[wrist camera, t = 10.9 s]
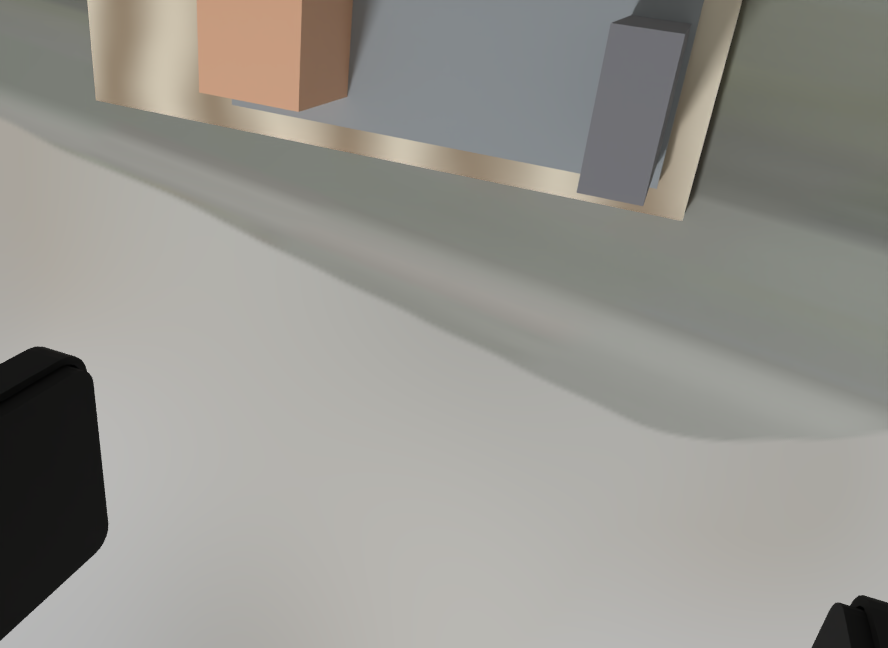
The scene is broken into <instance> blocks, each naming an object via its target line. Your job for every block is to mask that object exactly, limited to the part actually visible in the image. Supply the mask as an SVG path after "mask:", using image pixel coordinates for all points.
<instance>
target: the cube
mask: <svg viewBox="0 0 888 648" xmlns="http://www.w3.org/2000/svg"><path fill="white" fill-rule="evenodd" d="M352 7H353V0H197V33H198V70H199V93H204V94H209V95H214V96H220V97H225V98H230V99H235V100H240V101H245V102H250V103H255V104H261V105H266V106H271V107H276V108H281V109H286V110H291V111H296V112H300V111H303V110H306V109H310V108H313V107H316V106H319V105H322V104H326V103H329V102H332V101H335V100H339V99H342V98H345V97H347V93H348V75H349V58H350V41H351V24H352Z"/></svg>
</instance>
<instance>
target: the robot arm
mask: <svg viewBox="0 0 888 648" xmlns="http://www.w3.org/2000/svg"><path fill="white" fill-rule="evenodd" d="M107 531H108V517H107V507H106V498H105V488H104V480H103V470H102V460H101V450H100V441H99V432H98V422H97V412H96V403H95V394H94V384H93V379H92V377H91V375H90V374H89V373H88V372H87V370H86V366H85V364H84V363H83V361H82V360H81V359H79V358H77V357H75V356H72V355H68V354H65V353H61V352H58V351H55V350H52V349H48V348H45V347H33V348H30V349H28V350H26V351H24V352H22V353H20V354H18V355H16V356H15V357H13V358H11V359H9V360H7V361H5V362H3V363H1V364H0V640H2V639H3V638H4V637H5V636H6V635H7V634H8V633H9V632H10V631H11V630H12V629H14V627H16V626H17V625H18V624H19V623H20V622H21V621H22V620H23V619H24V618H25V617H27V616H28V615H29V614H30V613H31V612H32V611H33V610H34V609H35V608H36V607H37V606H39V604H41V603H42V602H43V601H44V600H45V599H46V598H47V597H48V596H49V595H51V594H52V593H53V592H54V591H55V590H56V589H57V588H58V587H59V586H60V585H61V584H63V582H65V581H66V580H67V579H68V578H69V577H70V576H71V575H72V574H73V573H74V572H76V571H77V570H78V569H79V568H80V567H81V566H82V565H83V564H84V563H85V562H86V561H88V559H90V558H91V557H92V556H93V555H94V554H95V553H96V552H97V551H98V550H99V549H100V547H101V546H102V544H103V542H104V540H105V538H106V536H107ZM812 648H888V603H887V602H884V601H880V600H877V599H874V598H870V597H867V596H864V595H862V596H858V597H857V598H855V599H854V600H853V602H852V604H851V605H850V606H848V605H845V604H842V603H835V604H834V605H833V606H832V608H831V609H830V611H829V613H828V615H827V617H826V619H825V621H824V623H823V625H822V627H821V629H820V631H819V633H818V636H817V638H816V640H815V642H814V644H813V646H812Z"/></svg>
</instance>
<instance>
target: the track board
mask: <svg viewBox="0 0 888 648" xmlns="http://www.w3.org/2000/svg"><path fill="white" fill-rule="evenodd" d="M87 2H88V13H89V25H90V36H91V48H92V60H93V71H94V83H95V94H96V100H97V101H102V102H107V103H112V104H117V105H121V106H126V107H131V108H136V109H141V110H146V111H151V112H155V113H160V114H165V115H170V116H175V117H180V118H185V119H189V120H194V121H199V122H204V123H209V124H214V125H219V126H223V127H228V128H233V129H238V130H243V131H248V132H253V133H257V134H262V135H267V136H272V137H277V138H282V139H287V140H291V141H296V142H301V143H306V144H311V145H316V146H321V147H325V148H330V149H335V150H340V151H345V152H350V153H355V154H359V155H364V156H369V157H374V158H379V159H384V160H389V161H393V162H398V163H403V164H408V165H413V166H418V167H423V168H427V169H432V170H437V171H442V172H447V173H452V174H457V175H461V176H466V177H471V178H476V179H481V180H486V181H491V182H495V183H500V184H505V185H510V186H515V187H520V188H525V189H529V190H534V191H539V192H544V193H549V194H554V195H559V196H563V197H568V198H573V199H578V200H583V201H588V202H593V203H597V204H602V205H607V206H612V207H617V208H622V209H626V210H631V211H636V212H641V213H646V214H651V215H656V216H660V217H665V218H670V219H675V220H680V221H683V217H684V213H685V210H686V206H687V202H688V199H689V195H690V191H691V187H692V184H693V180H694V176H695V173H696V169H697V165H698V162H699V158H700V154H701V151H702V147H703V143H704V140H705V136H706V132H707V129H708V125H709V121H710V118H711V114H712V110H713V107H714V103H715V99H716V95H717V92H718V88H719V84H720V81H721V77H722V73H723V70H724V66H725V62H726V59H727V55H728V51H729V48H730V44H731V40H732V37H733V33H734V29H735V26H736V22H737V18H738V15H739V11H740V7H741V3H742V0H704V3H703V7H702V11H701V15H700V19H699V23H698V27H697V31H696V35H695V39H694V43H693V47H692V51H691V55H690V59H689V63H688V67H687V71H686V75H685V79H684V83H683V87H682V91H681V95H680V98H679V102H678V106H677V110H676V114H675V118H674V122H673V126H672V130H671V134H670V138H669V142H668V146H667V150H666V154H665V158H664V162H663V166H662V170H661V174H660V178H659V182H658V186H657V189H655V188H650V187H649V190H648V193H647V196H646V199H645V202H644V205H643V206H639V205H634V204H629V203H624V202H619V201H614V200H609V199H605V198H600V197H595V196H590V195H585V194H580V193H577V188H578V183H579V178H580V174H579V173H574V172H569V171H564V170H559V169H554V168H549V167H544V166H539V165H533V164H528V163H523V162H518V161H513V160H508V159H503V158H498V157H493V156H488V155H483V154H478V153H473V152H468V151H463V150H458V149H453V148H447V147H442V146H437V145H432V144H427V143H422V142H417V141H412V140H407V139H402V138H397V137H392V136H387V135H382V134H377V133H372V132H367V131H361V130H356V129H351V128H346V127H341V126H336V125H331V124H326V123H321V122H316V121H311V120H306V119H301V118H296V117H291V116H286V115H281V114H276V113H270V112H265V111H260V110H255V109H250V108H245V107H240V106H235V105H232V99H230V98H225V97H220V96H214V95H209V94H204V93H199V70H198V33H197V0H87Z"/></svg>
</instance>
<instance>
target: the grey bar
mask: <svg viewBox="0 0 888 648" xmlns="http://www.w3.org/2000/svg"><path fill="white" fill-rule="evenodd" d="M703 3H704V0H353V7H352V24H351V41H350V58H349V75H348V93H347V97H345V98H342V99H339V100H335V101H332V102H329V103H326V104H322V105H319V106H316V107H313V108H310V109H306V110H303V111H300V112H296V111H291V110H286V109H281V108H276V107H271V106H266V105H261V104H255V103H250V102H245V101H240V100H235V99H232V105H235V106H240V107H245V108H250V109H255V110H260V111H265V112H270V113H276V114H281V115H286V116H291V117H296V118H301V119H306V120H311V121H316V122H321V123H326V124H331V125H336V126H341V127H346V128H351V129H356V130H361V131H367V132H372V133H377V134H382V135H387V136H392V137H397V138H402V139H407V140H412V141H417V142H422V143H427V144H432V145H437V146H442V147H447V148H453V149H458V150H463V151H468V152H473V153H478V154H483V155H488V156H493V157H498V158H503V159H508V160H513V161H518V162H523V163H528V164H533V165H539V166H544V167H549V168H554V169H559V170H564V171H569V172H574V173H579V174H580V178H579V183H578V188H577V193H580V194H585V195H590V196H595V197H600V198H605V199H609V200H614V201H619V202H624V203H629V204H634V205H639V206H643V205H644V202H645V199H646V196H647V193H648V190H649V187H650V188H655V189H657V186H658V182H659V178H660V174H661V170H662V166H663V162H664V158H665V154H666V150H667V146H668V142H669V138H670V134H671V130H672V126H673V122H674V118H675V114H676V110H677V106H678V102H679V98H680V95H681V91H682V87H683V83H684V79H685V75H686V71H687V67H688V63H689V59H690V55H691V51H692V47H693V43H694V39H695V35H696V31H697V27H698V23H699V19H700V15H701V11H702V7H703Z"/></svg>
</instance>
